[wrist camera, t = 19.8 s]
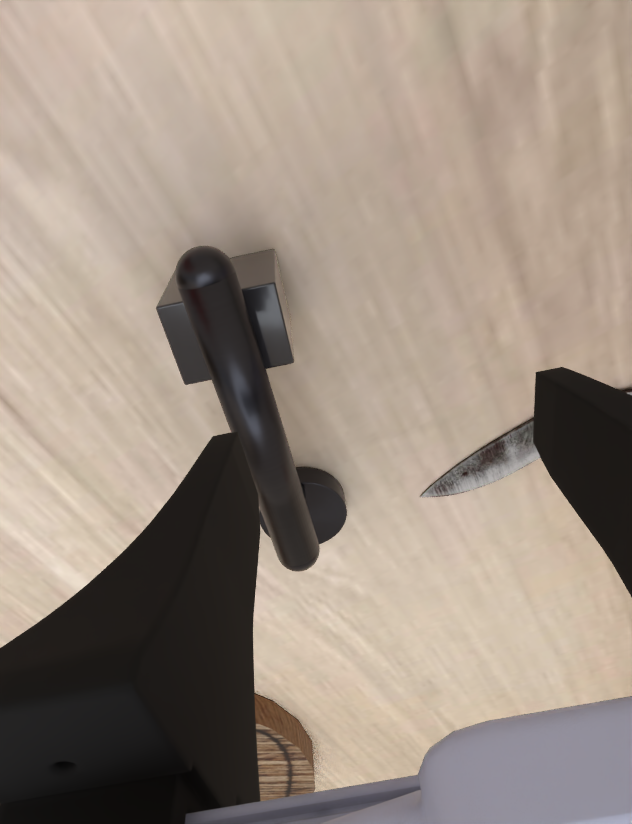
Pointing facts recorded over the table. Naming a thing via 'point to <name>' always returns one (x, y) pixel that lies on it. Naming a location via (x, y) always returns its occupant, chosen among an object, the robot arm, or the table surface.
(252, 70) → the table surface
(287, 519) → the crank handle
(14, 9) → the table surface
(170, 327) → the dark grey cube
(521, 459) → the knife
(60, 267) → the table surface
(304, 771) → the trivet
